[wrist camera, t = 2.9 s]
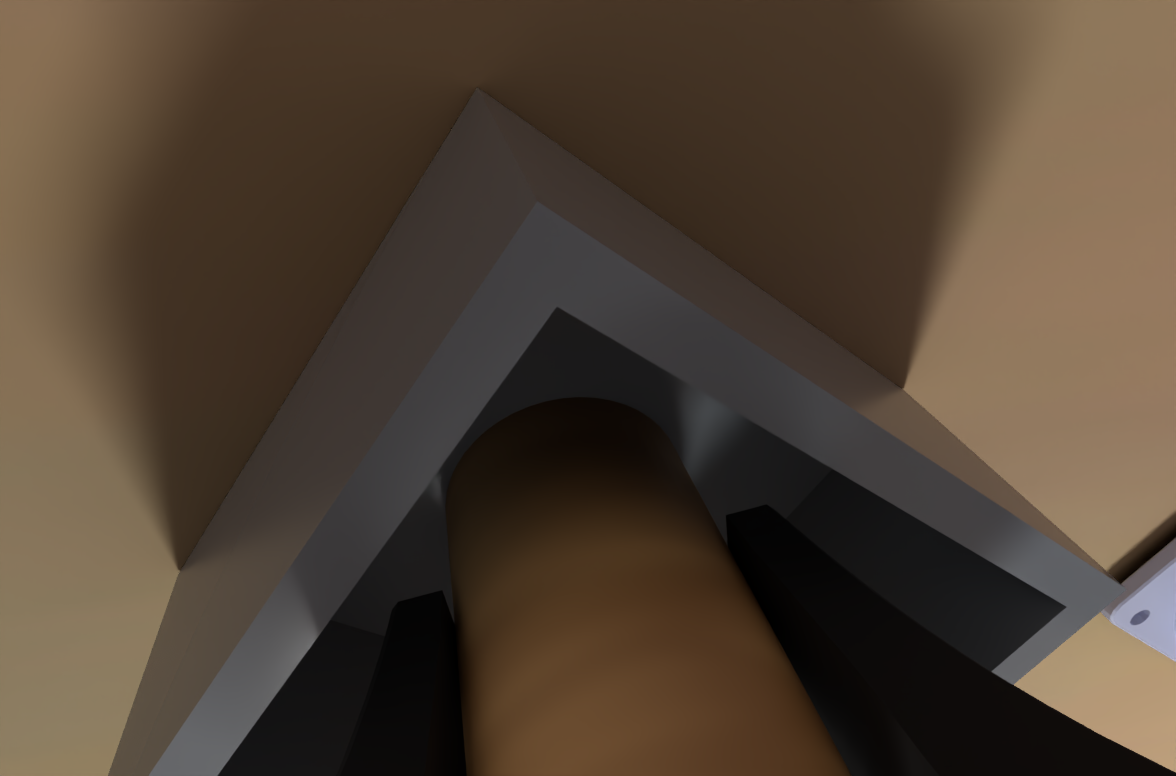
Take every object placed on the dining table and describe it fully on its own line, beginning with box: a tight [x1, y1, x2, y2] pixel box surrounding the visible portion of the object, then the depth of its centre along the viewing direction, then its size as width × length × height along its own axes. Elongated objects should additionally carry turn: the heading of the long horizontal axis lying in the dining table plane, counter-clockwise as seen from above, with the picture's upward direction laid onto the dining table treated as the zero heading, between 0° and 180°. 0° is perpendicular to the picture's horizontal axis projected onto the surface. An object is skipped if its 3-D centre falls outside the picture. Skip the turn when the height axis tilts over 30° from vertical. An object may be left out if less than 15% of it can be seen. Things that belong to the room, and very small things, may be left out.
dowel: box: [445, 397, 852, 776], centre depth 10 cm, size 4×4×7 cm
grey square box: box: [108, 87, 1127, 776], centre depth 11 cm, size 9×9×5 cm
